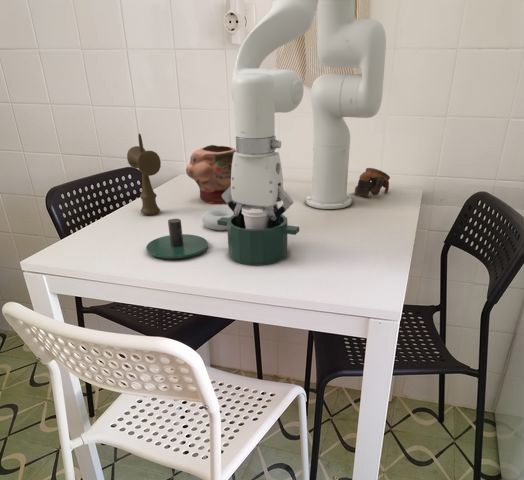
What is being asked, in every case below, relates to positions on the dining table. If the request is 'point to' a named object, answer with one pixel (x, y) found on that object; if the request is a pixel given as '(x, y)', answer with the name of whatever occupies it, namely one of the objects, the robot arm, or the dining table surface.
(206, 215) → the donut
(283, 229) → the pot
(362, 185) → the brown piece
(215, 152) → the sculpted ceramic jug
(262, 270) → the dining table surface
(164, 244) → the lid
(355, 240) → the dining table surface
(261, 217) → the smoothie
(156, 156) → the kendama
